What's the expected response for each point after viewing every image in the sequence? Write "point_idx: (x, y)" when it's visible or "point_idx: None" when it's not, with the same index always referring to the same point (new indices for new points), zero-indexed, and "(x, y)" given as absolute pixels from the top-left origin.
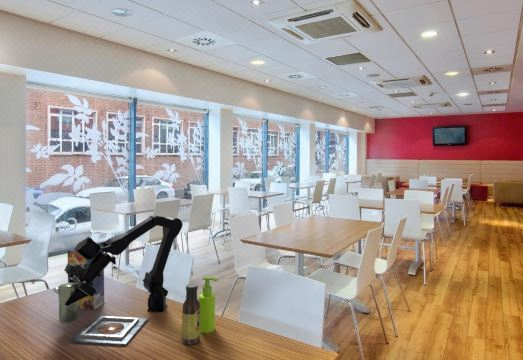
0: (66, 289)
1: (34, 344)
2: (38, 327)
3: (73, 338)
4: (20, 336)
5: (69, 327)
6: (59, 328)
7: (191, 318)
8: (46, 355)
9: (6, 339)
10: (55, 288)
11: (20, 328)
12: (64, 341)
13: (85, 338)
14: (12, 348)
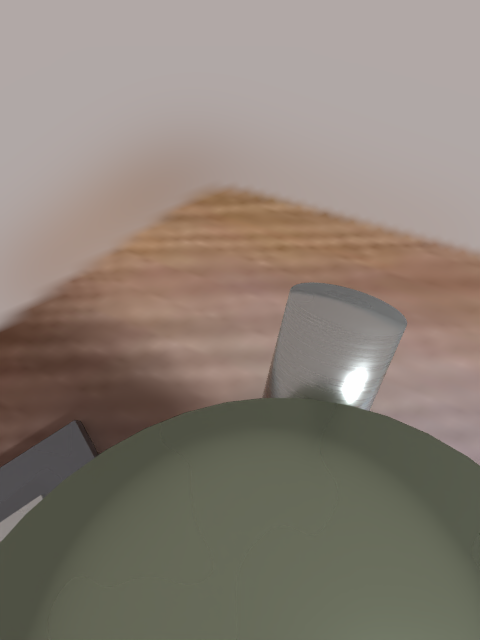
0: (2, 561)
1: (217, 291)
2: (417, 382)
3: (74, 452)
4: (361, 280)
5: None
6: None
7: None
8: (57, 286)
9: (371, 230)
10: (341, 314)
11: (464, 312)
12: (120, 410)
13: (3, 511)
14: (255, 218)
